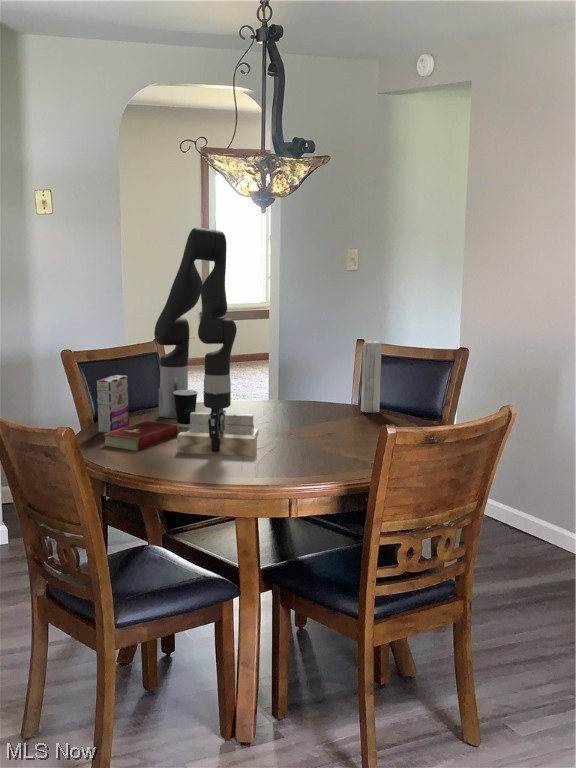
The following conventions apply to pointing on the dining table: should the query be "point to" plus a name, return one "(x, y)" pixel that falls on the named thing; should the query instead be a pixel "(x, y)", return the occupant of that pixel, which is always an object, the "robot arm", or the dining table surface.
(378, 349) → the air filter
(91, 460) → the dining table surface
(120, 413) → the candy bar box
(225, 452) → the beech batten
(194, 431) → the ridge
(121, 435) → the hardcover book
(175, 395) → the dixie cup
